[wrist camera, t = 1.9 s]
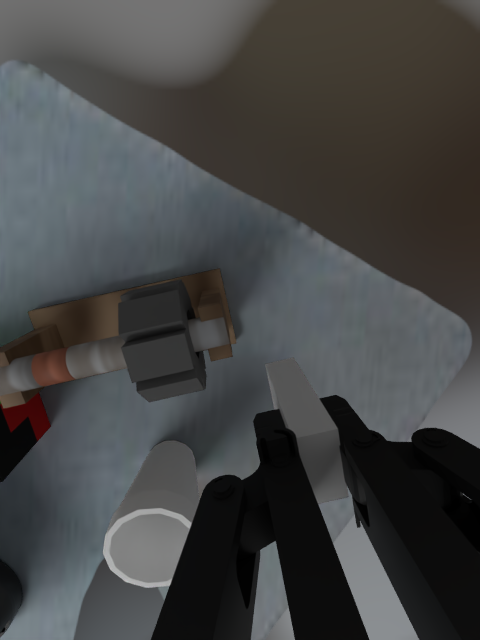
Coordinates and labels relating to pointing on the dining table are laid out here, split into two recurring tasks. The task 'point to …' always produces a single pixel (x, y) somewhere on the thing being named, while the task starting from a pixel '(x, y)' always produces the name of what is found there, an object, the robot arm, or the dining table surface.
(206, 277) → the pipe rig
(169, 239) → the dining table surface
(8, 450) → the puzzle toy
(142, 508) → the foam cup
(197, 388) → the dark gray notched block
